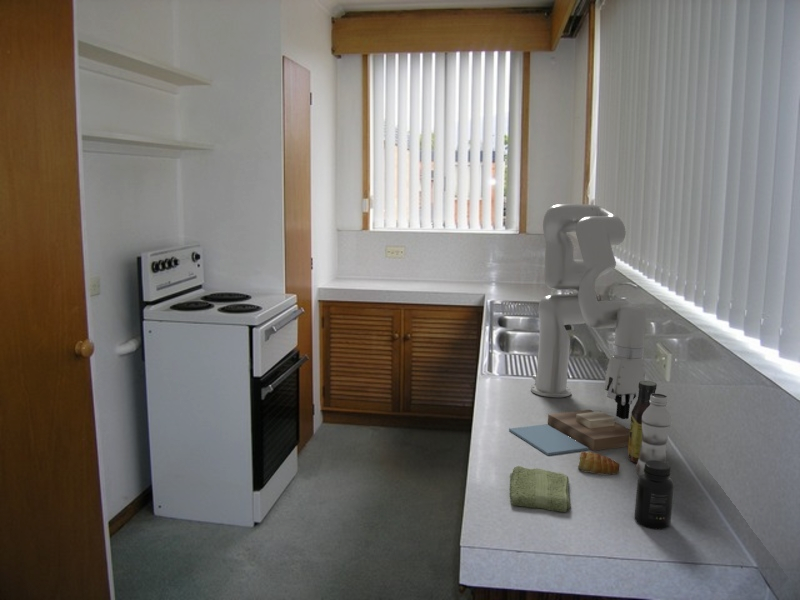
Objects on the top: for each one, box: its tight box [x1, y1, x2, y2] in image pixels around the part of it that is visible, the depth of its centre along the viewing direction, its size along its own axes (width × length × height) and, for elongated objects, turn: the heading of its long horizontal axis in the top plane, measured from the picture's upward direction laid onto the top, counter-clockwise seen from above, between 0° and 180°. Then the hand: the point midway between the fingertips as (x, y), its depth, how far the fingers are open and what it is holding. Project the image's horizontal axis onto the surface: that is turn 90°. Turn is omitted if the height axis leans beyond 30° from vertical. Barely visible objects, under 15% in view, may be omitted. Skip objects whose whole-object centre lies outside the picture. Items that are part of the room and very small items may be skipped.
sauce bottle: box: [627, 380, 658, 464], centre depth 170 cm, size 7×6×20 cm
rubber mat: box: [508, 423, 589, 456], centre depth 184 cm, size 18×12×1 cm, turn 23°
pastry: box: [577, 451, 621, 475], centre depth 166 cm, size 9×7×4 cm
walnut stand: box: [547, 409, 630, 452], centre depth 189 cm, size 20×14×3 cm
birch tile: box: [576, 410, 616, 428], centre depth 189 cm, size 6×8×2 cm
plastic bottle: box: [635, 392, 673, 478], centre depth 159 cm, size 6×7×20 cm
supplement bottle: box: [633, 460, 675, 530], centre depth 140 cm, size 7×7×12 cm
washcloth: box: [509, 465, 572, 513], centre depth 152 cm, size 13×18×3 cm
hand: (622, 417), depth 193 cm, fingers closed
